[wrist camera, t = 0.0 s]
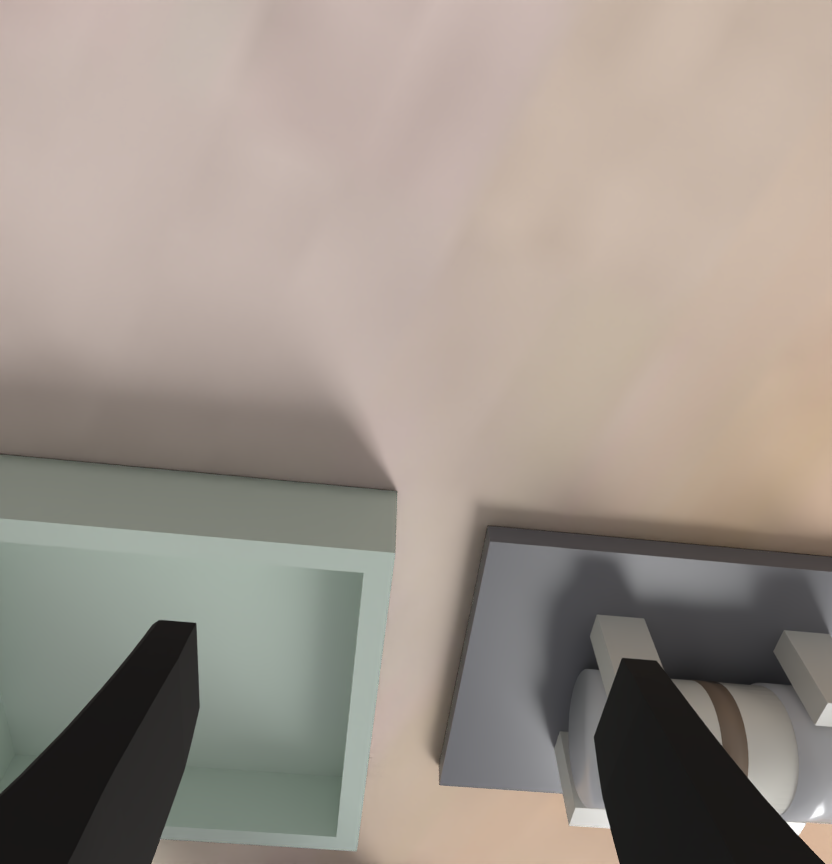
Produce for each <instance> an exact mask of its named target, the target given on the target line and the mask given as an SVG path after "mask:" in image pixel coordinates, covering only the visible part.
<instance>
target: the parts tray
mask: <svg viewBox="0 0 832 864" xmlns="http://www.w3.org/2000/svg"><path fill="white" fill-rule="evenodd" d="M396 514H397V491H390V490H379V489H368V488H358V487H347V486H336V485H325V484H315V483H304V482H293V481H282V480H272V479H261V478H250V477H239V476H229V475H218V474H207V473H196V472H186V471H175V470H164V469H153V468H142V467H132V466H121V465H110V464H99V463H89V462H78V461H67V460H56V459H46V458H35V457H24V456H13V455H3V454H0V793H1V792H2V791H3V790H5V789H6V788H7V787H8V786H9V785H10V784H11V783H12V782H13V781H14V780H15V779H16V778H17V777H18V776H19V775H20V774H21V773H22V772H23V771H24V770H25V769H26V768H27V767H28V766H29V765H30V764H31V763H32V762H33V761H34V760H35V759H36V758H37V757H38V756H39V755H40V754H41V753H42V752H43V751H44V750H45V749H46V748H47V747H48V746H49V745H50V744H51V743H52V742H53V741H54V740H55V739H56V738H57V737H58V736H59V734H60V733H61V732H62V731H63V730H64V729H65V728H66V727H67V726H68V725H69V724H70V723H71V722H72V721H73V719H74V718H75V717H76V716H77V715H78V714H79V713H80V712H81V710H82V709H83V708H84V707H85V706H86V705H87V704H88V703H89V701H90V700H91V699H92V698H93V697H94V696H95V695H96V694H97V692H98V691H99V690H100V689H101V688H102V687H103V686H104V684H105V683H106V682H107V681H108V680H109V679H110V677H111V676H112V675H113V674H114V673H115V671H116V670H117V669H118V668H119V667H120V665H121V664H122V663H123V662H124V660H125V659H126V658H127V657H128V656H129V654H130V653H131V652H132V651H133V649H134V648H135V647H136V645H137V644H138V643H139V642H140V640H141V639H142V638H143V636H144V635H145V634H146V632H147V631H148V630H149V628H150V627H151V626H152V624H154V623H155V622H157V621H158V620H169V621H181V622H193V623H196V624H197V649H198V674H199V699H200V709H199V713H198V717H197V722H196V726H195V730H194V734H193V739H192V743H191V747H190V751H189V755H188V759H187V763H186V767H185V770H184V773H183V776H182V779H181V782H180V785H179V787H178V790H177V793H176V796H175V799H174V802H173V804H172V807H171V810H170V813H169V816H168V818H167V821H166V824H165V827H164V830H163V832H162V835H161V838H160V839H168V840H184V841H200V842H216V843H232V844H248V845H264V846H280V847H296V848H311V849H327V850H343V851H357V846H358V838H359V830H360V823H361V815H362V807H363V799H364V792H365V784H366V776H367V768H368V761H369V753H370V745H371V737H372V730H373V722H374V714H375V706H376V699H377V691H378V683H379V675H380V668H381V660H382V652H383V644H384V637H385V629H386V621H387V613H388V606H389V598H390V590H391V582H392V575H393V567H394V559H395V546H396Z"/></svg>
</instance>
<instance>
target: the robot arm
mask: <svg viewBox="0 0 832 864" xmlns="http://www.w3.org/2000/svg"><path fill="white" fill-rule="evenodd" d="M199 709H200V699H199V674H198V649H197V624H196V623H193V622H181V621H169V620H158V621H157V622H155V623H154V624H152V626H151V627H150V628H149V630H148V631H147V632H146V634H145V635H144V636H143V638H142V639H141V640H140V642H139V643H138V644H137V645H136V647H135V648H134V649H133V651H132V652H131V653H130V654H129V656H128V657H127V658H126V659H125V660H124V662H123V663H122V664H121V665H120V667H119V668H118V669H117V670H116V671H115V673H114V674H113V675H112V676H111V677H110V679H109V680H108V681H107V682H106V683H105V684H104V686H103V687H102V688H101V689H100V690H99V691H98V692H97V694H96V695H95V696H94V697H93V698H92V699H91V700H90V701H89V703H88V704H87V705H86V706H85V707H84V708H83V709H82V710H81V712H80V713H79V714H78V715H77V716H76V717H75V718H74V719H73V721H72V722H71V723H70V724H69V725H68V726H67V727H66V728H65V729H64V730H63V731H62V732H61V733H60V734H59V736H58V737H57V738H56V739H55V740H54V741H53V742H52V743H51V744H50V745H49V746H48V747H47V748H46V749H45V750H44V751H43V752H42V753H41V754H40V755H39V756H38V757H37V758H36V759H35V760H34V761H33V762H32V763H31V764H30V765H29V766H28V767H27V768H26V769H25V770H24V771H23V772H22V773H21V774H20V775H19V776H18V777H17V778H16V779H15V780H14V781H13V782H12V783H11V784H10V785H9V786H8V787H7V788H6V789H5V790H3V791H2V792H1V793H0V864H151V863H152V860H153V857H154V855H155V852H156V849H157V846H158V843H159V841H160V838H161V835H162V832H163V830H164V827H165V824H166V821H167V818H168V816H169V813H170V810H171V807H172V804H173V802H174V799H175V796H176V793H177V790H178V787H179V785H180V782H181V779H182V776H183V773H184V770H185V767H186V763H187V759H188V755H189V751H190V747H191V743H192V739H193V734H194V730H195V726H196V722H197V717H198V713H199ZM594 743H595V751H596V758H597V766H598V773H599V779H600V785H601V792H602V798H603V802H604V806H605V810H606V814H607V818H608V821H609V825H610V829H611V833H612V836H613V840H614V844H615V848H616V852H617V855H618V859H619V863H620V864H825V863H824V862H823V861H822V860H821V859H820V858H819V857H818V856H817V855H816V854H815V853H814V852H813V851H812V850H811V849H810V848H809V847H808V845H807V844H806V843H805V842H804V841H803V840H802V839H801V838H800V837H799V836H798V835H797V834H796V833H795V831H794V830H793V829H792V828H791V827H790V826H789V825H788V824H787V822H786V821H785V820H784V819H783V818H782V817H781V816H780V815H779V813H778V812H777V811H776V810H775V809H774V808H773V807H772V806H771V804H770V803H769V802H768V801H767V800H766V799H765V798H764V796H763V795H762V794H761V793H760V792H759V791H758V789H757V788H756V787H755V786H754V785H753V783H752V782H751V781H750V780H749V779H748V777H747V776H746V775H745V774H744V772H743V771H742V770H741V769H740V767H739V766H738V765H737V764H736V763H735V761H734V760H733V759H732V758H731V756H730V755H729V754H728V753H727V751H726V750H725V749H724V748H723V746H722V745H721V744H720V743H719V741H718V740H717V739H716V738H715V736H714V735H713V734H712V732H711V731H710V730H709V729H708V727H707V726H706V725H705V723H704V722H703V721H702V719H701V718H700V717H699V715H698V714H697V713H696V712H695V710H694V709H693V708H692V706H691V705H690V704H689V702H688V701H687V700H686V698H685V697H684V696H683V694H682V693H681V692H680V690H679V689H678V688H677V686H676V685H675V684H674V683H673V681H672V680H671V679H670V677H669V676H668V675H667V673H666V672H665V671H664V669H663V668H662V667H661V666H660V664H659V663H658V662H657V661H656V660H643V659H631V658H622V659H621V662H620V665H619V667H618V670H617V673H616V676H615V679H614V681H613V684H612V687H611V690H610V693H609V695H608V698H607V701H606V704H605V707H604V709H603V712H602V715H601V718H600V721H599V723H598V726H597V729H596V732H595V735H594Z"/></svg>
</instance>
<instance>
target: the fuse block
mask: <svg viewBox="0 0 832 864" xmlns="http://www.w3.org/2000/svg"><path fill="white" fill-rule="evenodd" d="M622 658H631V659H643V660H656V661H657V662H658V663H659V664H660V666H661V667H662V668H663V669H664V671H665V672H666V673H667V675H668V676H669V677H670V679H682V680H702V681H715V682H720V683H732V684H745V685H751V684H753V683H771V684H784V685H792V686H793V687H794V689H795V691H796V693H797V695H798V696H799V698H800V700H801V702H802V703H803V705H804V707H805V709H806V710H807V712H808V714H809V716H810V718H811V719H812V721H813V723H814V725H816V726H829V727H832V557H827V556H816V555H805V554H794V553H783V552H772V551H761V550H750V549H739V548H728V547H717V546H705V545H694V544H683V543H672V542H661V541H650V540H639V539H628V538H617V537H606V536H595V535H584V534H573V533H562V532H551V531H540V530H529V529H518V528H507V527H496V526H488V527H487V532H486V537H485V542H484V546H483V551H482V556H481V561H480V566H479V571H478V576H477V581H476V586H475V591H474V596H473V601H472V606H471V610H470V615H469V620H468V625H467V630H466V635H465V640H464V645H463V650H462V655H461V660H460V665H459V670H458V674H457V679H456V684H455V689H454V694H453V699H452V704H451V709H450V714H449V719H448V724H447V729H446V733H445V738H444V743H443V748H442V753H441V758H440V763H439V785H444V786H458V787H473V788H487V789H502V790H517V791H531V792H546V793H560V794H563V797H564V802H565V808H566V813H567V818H568V823H569V826H581V827H597V828H610V825H609V821H608V818H607V814H606V810H605V809H598V808H588V807H586V806H585V805H584V804H583V803H582V802H581V800H580V798H579V796H578V793H577V791H576V788H575V784H574V780H573V776H572V771H571V764H570V755H569V738H568V728H569V711H570V703H571V697H572V692H573V688H574V685H575V682H576V680H577V677H578V676H579V674H580V673H581V672H582V671H583V670H584V669H595V670H600V674H601V677H602V681H603V684H604V688H605V691H606V695H607V698H608V695H609V693H610V690H611V687H612V684H613V681H614V679H615V676H616V673H617V670H618V667H619V665H620V662H621V659H622ZM786 822H787V824H788V825H789V826H790V827H791V828H792V829H793V830H794V831H795V833H796V834H797V835H798V836H799V834H800V833H801V831H802V829H803V828H804V826H805V825H806V823H805V822H790V821H786Z"/></svg>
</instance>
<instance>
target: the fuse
mask: <svg viewBox="0 0 832 864" xmlns="http://www.w3.org/2000/svg"><path fill="white" fill-rule="evenodd" d="M671 680H672V681H673V683H674V684H675V685H676V686H677V688H678V689H679V690H680V692H681V693H682V694H683V696H684V697H685V698H686V700H687V701H688V702H689V704H690V705H691V706H692V708H693V709H694V710H695V712H696V713H697V714H698V715H699V717H700V718H701V719H702V721H703V722H704V723H705V725H706V726H707V727H708V729H709V730H710V731H711V732H712V734H713V735H714V736H715V738H716V739H717V740H718V741H719V743H720V744H721V745H722V746H723V748H724V749H725V750H726V751H727V753H728V754H729V755H730V756H731V758H732V759H733V760H734V761H735V763H736V764H737V765H738V766H739V767H740V769H741V770H742V771H743V772H744V774H745V775H746V776H747V777H748V779H749V780H750V781H751V782H752V783H753V785H754V786H755V787H756V788H757V789H758V791H759V792H760V793H761V794H762V795H763V796H764V798H765V799H766V800H767V801H768V802H769V803H770V804H771V806H772V807H773V808H774V809H775V810H776V811H777V812H778V813H779V815H780V816H781V817H782V818H783V819H784V820H785V821H790V822H805V823H820V824H832V727H829V726H816V725H814V723H813V721H812V719H811V718H810V716H809V714H808V712H807V710H806V709H805V707H804V705H803V703H802V702H801V700H800V698H799V696H798V695H797V693H796V691H795V689H794V687H793V686H792V685H784V684H771V683H753V684H751V685H745V684H732V683H720V682H715V681H702V680H682V679H671ZM606 701H607V695H606V691H605V688H604V684H603V681H602V677H601V674H600V670H595V669H584V670H583V671H582V672H581V673H580V674H579V676H578V677H577V680H576V682H575V685H574V688H573V692H572V697H571V703H570V711H569V728H568V738H569V755H570V764H571V771H572V776H573V780H574V784H575V788H576V791H577V793H578V796H579V798H580V800H581V802H582V803H583V804H584V805H585V806H586V807H588V808H598V809H605V806H604V802H603V798H602V792H601V785H600V779H599V773H598V766H597V758H596V751H595V743H594V735H595V732H596V729H597V726H598V723H599V721H600V718H601V715H602V712H603V709H604V707H605V704H606Z"/></svg>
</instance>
